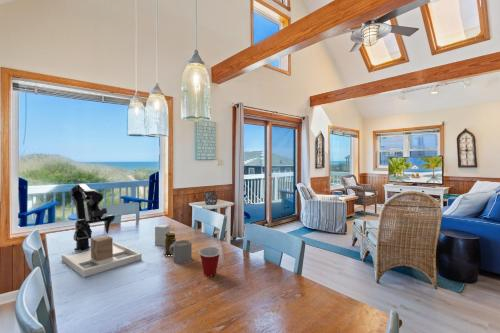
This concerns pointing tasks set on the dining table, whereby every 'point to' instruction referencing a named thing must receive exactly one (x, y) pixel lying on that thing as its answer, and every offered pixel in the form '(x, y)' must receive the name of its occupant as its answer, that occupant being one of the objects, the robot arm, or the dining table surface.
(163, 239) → the supplement box
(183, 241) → the coffee mug
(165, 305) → the dining table surface
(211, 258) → the plastic cup
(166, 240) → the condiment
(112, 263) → the white recessed tray
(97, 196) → the robot arm
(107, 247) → the walnut block
